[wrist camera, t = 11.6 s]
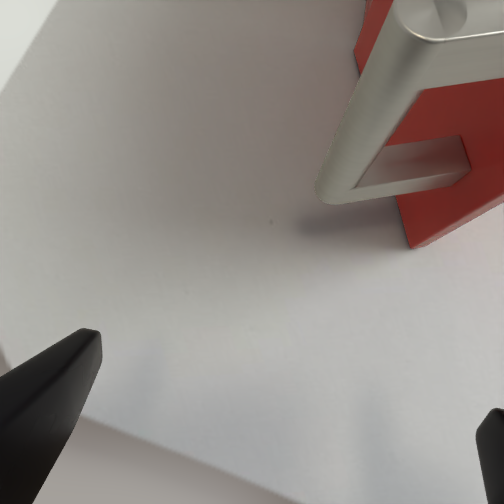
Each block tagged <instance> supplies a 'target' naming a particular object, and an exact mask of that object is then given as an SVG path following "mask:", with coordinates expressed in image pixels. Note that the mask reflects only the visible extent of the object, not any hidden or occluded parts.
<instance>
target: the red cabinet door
mask: <svg viewBox="0 0 504 504" xmlns="http://www.w3.org/2000/svg"><path fill="white" fill-rule="evenodd" d="M354 53H355V57H356V60H357V64H358V67H359V71H360V74H361V77H360V79H359V81H358V84H357V86H356V88H355V90H354V93H353V95H352V97H351V100H350V102H349V104H348V107H347V109H346V111H345V113H344V116H343V118H342V120H341V123H340V125H339V127H338V130H337V132H336V134H335V136H334V139H333V141H332V143H331V146H330V148H329V150H328V153H327V155H326V157H325V159H324V162H323V164H322V166H321V169H320V171H319V173H318V176H317V178H316V180H315V183H314V189H315V193H316V195H317V196H318V198H319V199H320V200H321V201H323V202H324V203H327V204H330V205H339V204H345V203H351V202H357V201H363V200H370V199H376V198H382V197H388V196H394V195H395V196H396V200H397V203H398V207H399V210H400V214H401V217H402V221H403V224H404V228H405V231H406V235H407V238H408V242H409V245H410V248H411V249H414V248H420V247H425V246H427V245H428V244H430V243H432V242H434V241H435V240H437V239H439V238H441V237H443V236H444V235H446V234H448V233H450V232H451V231H453V230H455V229H457V228H458V227H460V226H462V225H464V224H466V223H467V222H469V221H471V220H473V219H474V218H476V217H478V216H480V215H482V214H483V213H485V212H487V211H489V210H490V209H492V208H494V207H496V206H497V205H499V204H501V203H503V202H504V0H372V3H371V6H370V8H369V11H368V14H367V16H366V19H365V22H364V24H363V27H362V30H361V32H360V35H359V38H358V40H357V43H356V46H355V48H354Z"/></svg>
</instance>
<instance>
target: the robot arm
mask: <svg viewBox="0 0 504 504" xmlns="http://www.w3.org/2000/svg"><path fill="white" fill-rule="evenodd" d="M101 363H102V341H101V334H100V332H99V331H96V330H91V329H86V328H82V329H79V330H77V331H76V332H74V333H72V334H71V335H69V336H67V337H66V338H64V339H62V340H61V341H59V342H57V343H56V344H54V345H52V346H51V347H49V348H47V349H46V350H44V351H42V352H41V353H39V354H37V355H36V356H34V357H33V358H31V359H29V360H28V361H26V362H24V363H23V364H21V365H19V366H18V367H16V368H14V369H13V370H11V371H9V372H8V373H6V374H4V375H3V376H1V377H0V504H32V503H33V502H34V500H35V498H36V496H37V494H38V493H39V491H40V489H41V487H42V485H43V484H44V482H45V480H46V478H47V476H48V474H49V473H50V471H51V469H52V467H53V466H54V464H55V462H56V460H57V458H58V457H59V455H60V453H61V451H62V449H63V448H64V446H65V444H66V442H67V440H68V439H69V437H70V435H71V433H72V431H73V429H74V427H75V425H76V422H77V420H78V418H79V416H80V413H81V411H82V409H83V406H84V404H85V402H86V399H87V397H88V394H89V392H90V390H91V387H92V385H93V383H94V380H95V378H96V376H97V373H98V371H99V369H100V366H101ZM476 444H477V449H478V454H479V460H480V465H481V470H482V475H483V480H484V486H485V491H486V496H487V501H488V504H504V409H500V408H494V409H492V410H491V411H490V412H489V413H488V415H487V416H486V418H485V419H484V420H483V422H482V423H481V424H480V426H479V427H478V429H477V431H476Z"/></svg>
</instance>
